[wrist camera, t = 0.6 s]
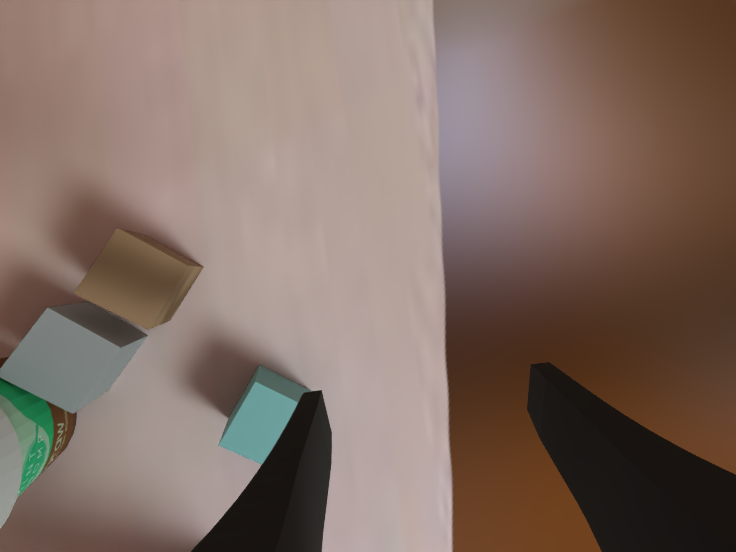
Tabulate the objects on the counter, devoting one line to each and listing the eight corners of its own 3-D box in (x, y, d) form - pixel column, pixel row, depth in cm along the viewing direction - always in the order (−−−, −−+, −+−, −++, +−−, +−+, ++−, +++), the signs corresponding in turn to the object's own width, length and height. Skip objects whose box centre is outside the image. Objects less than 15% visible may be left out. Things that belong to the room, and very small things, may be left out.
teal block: (281, 442, 31) (281, 473, 27) (228, 418, 30) (218, 445, 26) (310, 390, 32) (315, 411, 27) (259, 364, 31) (255, 381, 26)
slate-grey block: (108, 389, 28) (72, 413, 24) (46, 357, 27) (-5, 375, 23) (148, 335, 29) (120, 347, 24) (88, 301, 28) (47, 307, 23)
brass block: (170, 320, 29) (148, 329, 24) (109, 290, 28) (73, 293, 24) (203, 267, 30) (188, 265, 25) (145, 235, 29) (117, 227, 24)
